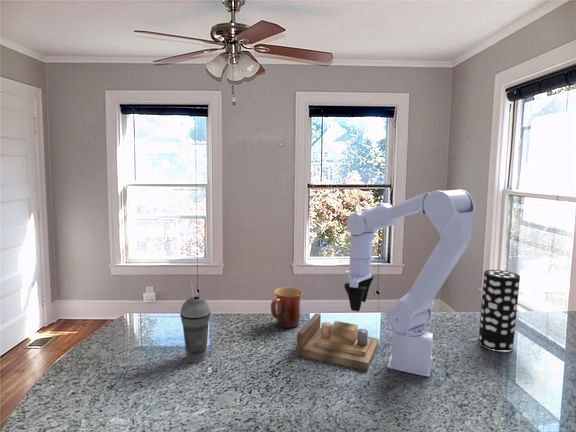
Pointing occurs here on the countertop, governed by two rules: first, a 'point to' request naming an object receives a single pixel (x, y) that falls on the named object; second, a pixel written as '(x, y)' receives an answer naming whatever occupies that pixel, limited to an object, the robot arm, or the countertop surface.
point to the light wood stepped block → (309, 350)
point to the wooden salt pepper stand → (344, 338)
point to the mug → (287, 306)
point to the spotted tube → (498, 309)
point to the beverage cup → (195, 327)
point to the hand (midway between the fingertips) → (358, 305)
